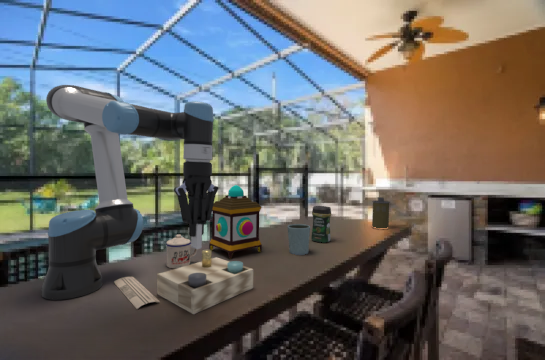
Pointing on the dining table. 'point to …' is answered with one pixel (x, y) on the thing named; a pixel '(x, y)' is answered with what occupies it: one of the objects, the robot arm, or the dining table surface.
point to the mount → (201, 298)
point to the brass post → (206, 258)
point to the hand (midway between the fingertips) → (196, 247)
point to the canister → (380, 213)
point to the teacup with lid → (178, 252)
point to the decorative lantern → (235, 223)
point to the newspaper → (135, 291)
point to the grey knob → (196, 280)
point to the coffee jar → (321, 224)
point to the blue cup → (298, 238)
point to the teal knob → (235, 267)
